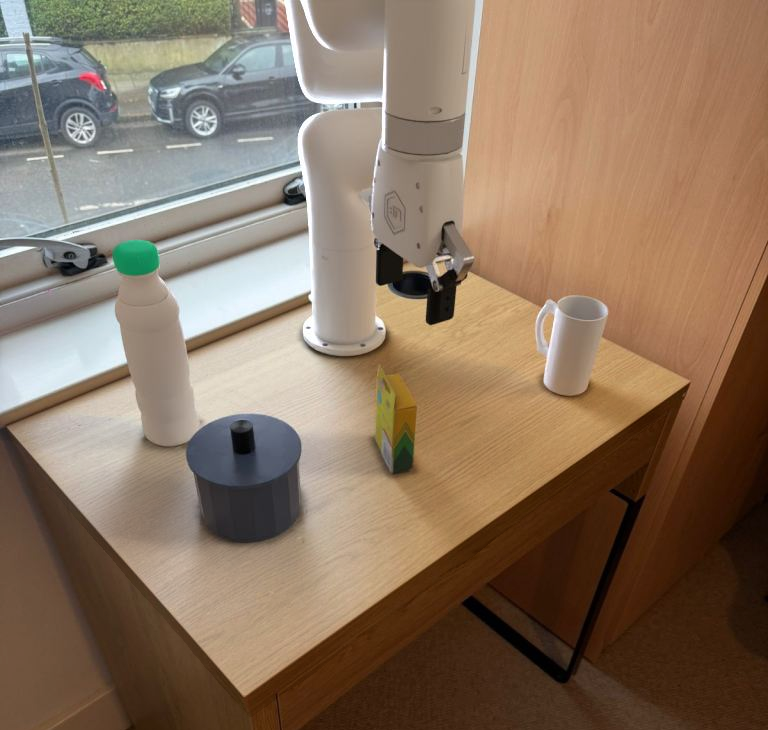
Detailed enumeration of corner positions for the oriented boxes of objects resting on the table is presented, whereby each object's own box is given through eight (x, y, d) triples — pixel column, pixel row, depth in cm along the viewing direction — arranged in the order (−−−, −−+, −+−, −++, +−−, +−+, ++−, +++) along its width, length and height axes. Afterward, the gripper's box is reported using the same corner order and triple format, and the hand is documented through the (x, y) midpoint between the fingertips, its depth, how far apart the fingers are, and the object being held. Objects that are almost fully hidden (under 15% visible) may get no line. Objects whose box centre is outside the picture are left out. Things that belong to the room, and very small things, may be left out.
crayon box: (413, 471, 94) (419, 393, 86) (390, 475, 94) (394, 397, 86) (396, 435, 99) (399, 358, 91) (374, 438, 99) (376, 362, 91)
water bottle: (210, 422, 100) (180, 238, 83) (183, 454, 95) (145, 266, 78) (163, 410, 102) (123, 227, 84) (134, 441, 97) (85, 254, 80)
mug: (598, 385, 109) (618, 309, 101) (569, 403, 106) (588, 326, 97) (543, 355, 114) (558, 281, 106) (514, 372, 111) (527, 296, 102)
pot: (182, 507, 89) (170, 450, 83) (258, 462, 95) (252, 407, 89) (244, 558, 83) (235, 502, 77) (320, 507, 89) (318, 451, 83)
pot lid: (164, 454, 83) (157, 425, 80) (253, 407, 90) (249, 378, 87) (235, 511, 77) (231, 481, 74) (325, 456, 84) (324, 426, 81)
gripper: (340, 111, 74) (343, 276, 86) (443, 168, 63) (430, 347, 75) (405, 100, 77) (399, 261, 89) (514, 153, 66) (490, 328, 78)
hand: (413, 301), depth 82 cm, fingers open, 9 cm apart
